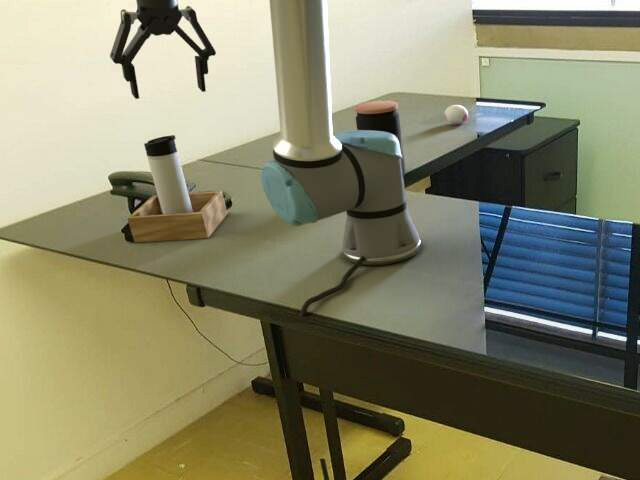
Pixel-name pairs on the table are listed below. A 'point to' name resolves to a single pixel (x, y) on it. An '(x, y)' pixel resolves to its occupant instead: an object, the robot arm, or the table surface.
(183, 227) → the crate
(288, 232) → the table surface
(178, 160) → the travel mug
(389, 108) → the coffee jar
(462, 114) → the stress ball
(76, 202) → the table surface
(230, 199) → the table surface
